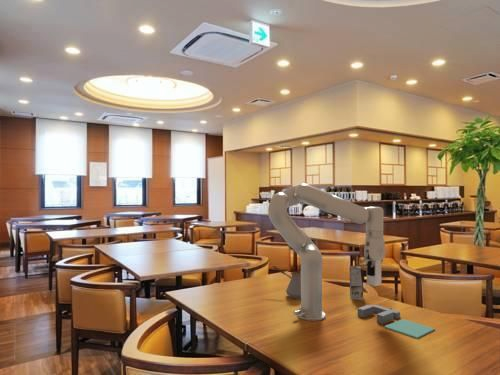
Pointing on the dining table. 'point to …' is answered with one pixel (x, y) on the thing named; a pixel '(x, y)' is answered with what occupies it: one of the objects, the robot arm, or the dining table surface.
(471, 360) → the dining table surface
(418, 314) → the dining table surface
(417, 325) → the mat
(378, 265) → the steel bar
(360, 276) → the coffee box
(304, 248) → the robot arm
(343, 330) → the dining table surface
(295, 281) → the coffee pot
